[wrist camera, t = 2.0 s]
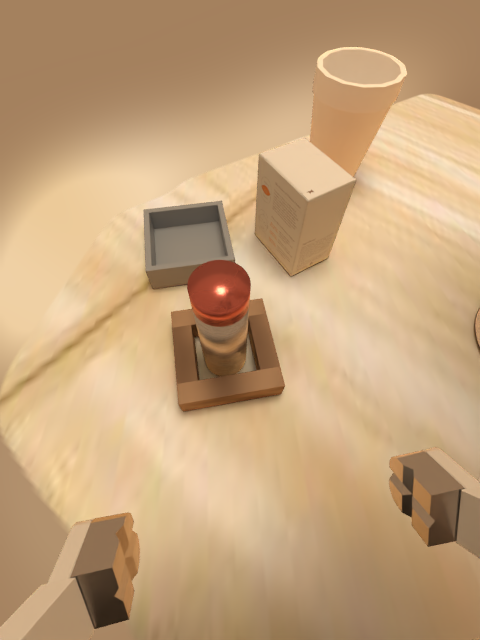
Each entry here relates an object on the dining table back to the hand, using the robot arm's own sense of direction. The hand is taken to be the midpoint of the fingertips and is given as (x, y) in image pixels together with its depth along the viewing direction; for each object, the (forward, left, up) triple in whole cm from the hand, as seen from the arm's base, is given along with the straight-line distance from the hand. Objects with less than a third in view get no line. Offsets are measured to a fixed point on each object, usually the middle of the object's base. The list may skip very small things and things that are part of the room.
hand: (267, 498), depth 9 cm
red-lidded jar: (0, -12, -17) cm, 21 cm away
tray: (+2, -26, -17) cm, 31 cm away
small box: (-10, -25, -17) cm, 32 cm away
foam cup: (-19, -37, -17) cm, 45 cm away
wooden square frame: (0, -12, -17) cm, 21 cm away
